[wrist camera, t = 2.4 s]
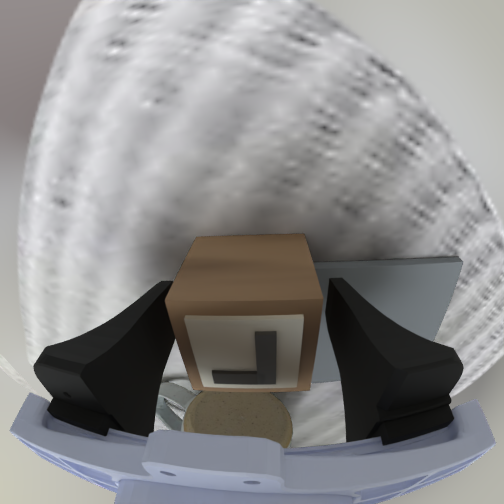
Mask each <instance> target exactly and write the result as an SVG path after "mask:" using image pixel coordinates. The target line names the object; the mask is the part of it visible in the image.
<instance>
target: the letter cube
mask: <svg viewBox="0 0 504 504" xmlns="http://www.w3.org/2000/svg"><path fill="white" fill-rule="evenodd" d="M323 299H324V298H323V295H322V291H321V288H320V284H319V281H318V277H317V274H316V271H315V267H314V264H313V261H312V257H311V254H310V251H309V248H308V244H307V241H306V238H305V235H304V234H266V235H233V236H204V237H196V239H195V240H194V242H193V244H192V246H191V248H190V250H189V252H188V254H187V256H186V258H185V260H184V262H183V264H182V266H181V268H180V270H179V272H178V274H177V276H176V278H175V280H174V282H173V284H172V286H171V288H170V290H169V292H168V294H167V296H166V299H165V304H166V307H167V311H168V314H169V318H170V321H171V324H172V328H173V331H174V334H175V338H176V341H177V344H178V347H179V350H180V353H181V356H182V359H183V362H184V365H185V368H186V371H187V374H188V377H189V379H190V382H191V385H192V388H193V390H203V391H221V392H291V391H309V390H310V385H311V380H312V374H313V369H314V363H315V356H316V350H317V344H318V337H319V330H320V323H321V315H322V307H323Z"/></svg>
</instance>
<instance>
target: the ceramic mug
mask: <svg viewBox="0 0 504 504" xmlns="http://www.w3.org/2000/svg"><path fill="white" fill-rule="evenodd" d="M164 398H166V399H168V400H169V401H171V402H173V403H175V404H176V405H178V406H180V407H181V408H183V409H184V410H185V415H184V417H183V420H182V419H181V418H180V417H178V416H177V415H176V414H175V413H174V412H173V411H172V410H171V409H170V407H169V406H168V405H167V404H166V402H165V400H164ZM155 415H156V417H157V418H158V419H159V420H160V421H161V422H162V423H163V425H164V426H166V427H167V428H168V429H169V430H175V431H183V432H191V433H200V434H211V435H225V436H249V437H258V438H266V439H269V440H272V441H275V442H278V443H279V444H280V445H281V446H282V448H290V445H291V441H292V434H293V428H292V421H291V418H290V415H289V413H288V411H287V409H286V408H285V406H284V405H283V404H282V403H281V402H280V400H279V399H278V398H276V397H275V396H274V395H272V394H271V393H269V392H221V391H202V392H201V393H200V394H198V395H195V394H193V393H192V392H191V391H189V390H188V389H186V388H184V387H182V386H179V385H177V384H174V383H170V382H163V383H161V385H160V389H159V395H158V401H157V407H156V414H155Z"/></svg>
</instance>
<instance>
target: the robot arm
mask: <svg viewBox="0 0 504 504" xmlns="http://www.w3.org/2000/svg"><path fill="white" fill-rule="evenodd" d="M172 284H173V281H161V282H159V283H158V284H156V285H155V286H154V287H153V288H151V289H150V290H149V291H148V292H146V293H145V294H144V295H143V296H142V297H140V298H139V299H138V300H137V301H135V302H134V303H133V304H131V305H130V306H129V307H127V308H126V309H125V310H123V311H122V312H121V313H119V314H118V315H117V316H115V317H114V318H112V319H110V320H109V321H107V322H106V323H104V324H102V325H100V326H98V327H97V328H95V329H93V330H91V331H89V332H87V333H85V334H82V335H80V336H78V337H75V338H73V339H70V340H67V341H64V342H61V343H58V344H54V345H51V346H47V347H45V349H44V350H43V352H42V353H41V355H40V356H39V358H38V360H37V361H36V363H35V364H34V372H35V374H36V376H37V378H38V379H39V380H40V382H41V383H42V384H43V386H44V387H45V388H46V390H47V391H48V392H49V393H50V394H51V395H52V397H53V399H52V401H51V403H50V402H49V401H48V400H47V399H45V398H43V397H40V396H38V395H36V394H33V393H29V395H28V397H27V398H26V400H25V402H24V403H23V405H22V407H21V409H20V411H19V413H18V415H17V417H16V418H15V420H14V422H13V424H12V426H11V429H10V432H11V433H12V434H13V435H14V436H15V437H17V439H19V440H20V441H21V442H22V443H24V444H25V445H26V446H27V447H28V448H30V449H31V450H32V451H33V452H35V453H36V454H37V455H39V456H40V457H41V458H43V459H45V460H47V461H48V462H50V463H52V464H55V465H56V466H58V467H60V468H62V469H64V470H66V471H68V472H70V473H72V474H74V475H76V476H78V477H80V478H82V479H84V480H86V481H88V482H91V483H93V484H95V485H98V486H100V487H102V488H105V489H107V490H110V491H113V492H115V493H117V494H116V498H115V502H114V504H376V503H379V502H383V501H386V500H390V499H393V498H396V497H399V496H402V495H405V494H407V493H410V492H413V491H415V490H418V489H421V488H423V487H425V486H428V485H430V484H433V483H435V482H437V481H440V480H442V479H444V478H446V477H448V476H451V475H453V474H455V473H457V472H459V471H461V470H463V469H465V468H466V467H468V466H469V465H470V464H471V463H473V462H475V461H476V460H477V459H479V458H480V457H481V456H482V455H484V454H485V453H486V452H488V451H489V450H490V449H491V448H492V447H494V446H495V444H496V442H495V439H494V437H493V434H492V432H491V429H490V427H489V425H488V422H487V420H486V417H485V415H484V413H483V410H482V408H481V406H480V404H479V402H478V400H477V399H473V400H471V401H469V402H466V403H463V404H461V405H458V406H457V407H455V408H454V409H452V410H451V409H450V406H449V404H450V403H451V398H450V395H449V393H450V392H451V390H452V389H453V388H454V386H455V385H456V383H457V382H458V380H459V379H460V377H461V375H462V372H463V364H462V362H461V360H460V358H459V357H458V355H457V353H456V351H455V350H454V348H451V347H448V346H445V345H442V344H439V343H435V342H433V341H430V340H428V339H426V338H423V337H421V336H419V335H417V334H415V333H413V332H411V331H409V330H407V329H406V328H404V327H402V326H400V325H399V324H397V323H396V322H394V321H393V320H391V319H390V318H388V317H387V316H385V315H384V314H383V313H381V312H380V311H379V310H377V309H376V308H375V307H374V306H373V305H371V304H370V303H369V302H368V301H367V300H366V299H364V298H363V297H362V296H361V295H360V294H359V293H358V292H357V291H356V290H355V289H354V288H353V287H352V286H351V285H350V284H349V283H348V282H346V281H345V280H344V279H343V278H329V285H328V294H327V302H326V309H325V316H326V323H327V329H328V334H329V337H330V341H331V344H332V348H333V351H334V354H335V358H336V361H337V365H338V369H339V373H340V378H341V385H342V392H343V401H344V410H345V423H346V443H340V444H332V445H323V446H313V447H300V448H282V446H281V445H280V444H279V443H278V442H275V441H272V440H269V439H266V438H258V437H249V436H225V435H211V434H200V433H191V432H183V431H175V430H157V431H155V432H154V422H155V414H156V407H157V401H158V395H159V389H160V385H161V380H162V376H163V372H164V369H165V366H166V363H167V360H168V358H169V355H170V352H171V349H172V347H173V344H174V341H175V334H174V331H173V328H172V324H171V321H170V318H169V314H168V311H167V307H166V304H165V299H166V296H167V294H168V292H169V290H170V288H171V286H172Z"/></svg>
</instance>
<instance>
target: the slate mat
mask: <svg viewBox="0 0 504 504" xmlns="http://www.w3.org/2000/svg"><path fill="white" fill-rule="evenodd" d="M313 264H314V267H315V271H316V274H317V277H318V281H319V284H320V288H321V291H322V295H323V298H324V299H323V307H322V315H321V323H320V330H319V337H318V344H317V350H316V356H315V363H314V369H313V374H312V380H311V383H322V382H333V381H341V378H340V373H339V369H338V365H337V361H336V358H335V354H334V351H333V348H332V344H331V341H330V337H329V334H328V329H327V323H326V316H325V309H326V302H327V294H328V285H329V278H343V279H344V280H345V281H346V282H348V283H349V284H350V285H351V286H352V287H353V288H354V289H355V290H356V291H357V292H358V293H359V294H360V295H361V296H362V297H363V298H364V299H366V300H367V301H368V302H369V303H370V304H371V305H373V306H374V307H375V308H376V309H377V310H379V311H380V312H381V313H383V314H384V315H385V316H387V317H388V318H390V319H391V320H393V321H394V322H396V323H397V324H399V325H400V326H402V327H404V328H406V329H407V330H409V331H411V332H413V333H415V334H417V335H419V336H421V337H423V338H426V339H428V340H430V341H434V339H435V336H436V334H437V332H438V330H439V327H440V325H441V323H442V320H443V318H444V316H445V313H446V311H447V308H448V306H449V303H450V300H451V298H452V295H453V292H454V289H455V287H456V284H457V281H458V278H459V275H460V272H461V268H462V265H463V261H462V260H461V259H460V258H459V257H443V258H421V259H397V260H371V261H343V262H313Z"/></svg>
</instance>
